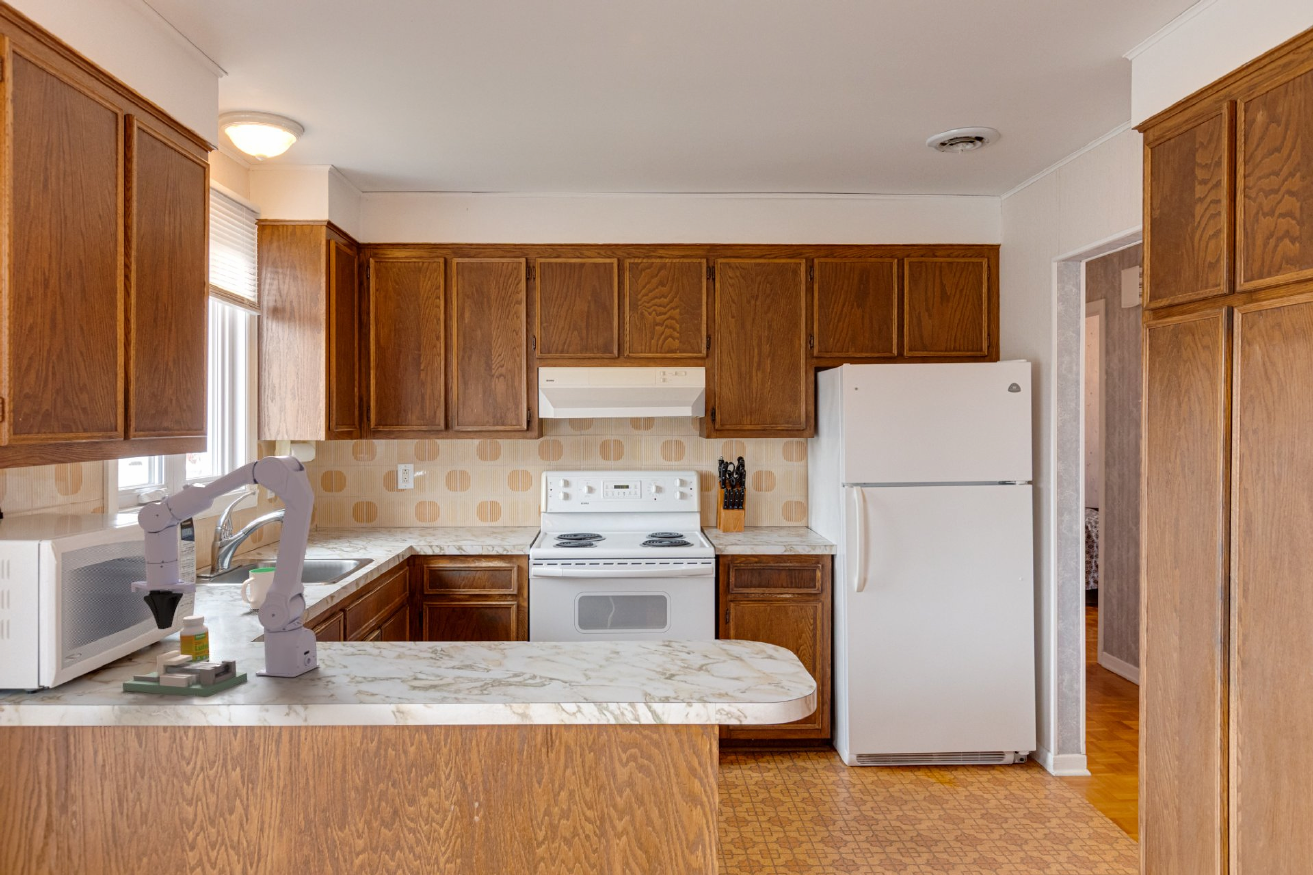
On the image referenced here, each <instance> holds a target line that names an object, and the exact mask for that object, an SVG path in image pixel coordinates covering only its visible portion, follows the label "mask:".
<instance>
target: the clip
mask: <svg viewBox="0 0 1313 875" xmlns="http://www.w3.org/2000/svg"><path fill="white" fill-rule="evenodd" d="M189 660H192V655H181V650H177V649H176V650H171V651H167V652H165V653H161V654H159V655H156V671H157V676H162V675H163V676H165V674H172V673H170V672H167V669H166V667H168V666H171V665H178V664H181V663H184V662H187V661H189Z"/></svg>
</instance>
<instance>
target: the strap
mask: <svg viewBox="0 0 1313 875" xmlns="http://www.w3.org/2000/svg"><path fill="white" fill-rule="evenodd" d="M221 663H222V662H221ZM201 668H214V670H215V676H216V675H219V674H222V673H224V672H227V671H228V670H229V664H228V663H226V662H225V663H222V664H219V665H215V664H194V663H181V664H178V665H171V666H168V667H166V669H167V672H170V673H189V674H200V669H201Z"/></svg>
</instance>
